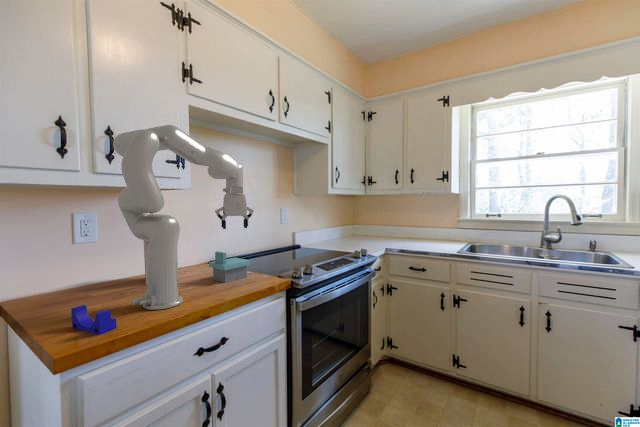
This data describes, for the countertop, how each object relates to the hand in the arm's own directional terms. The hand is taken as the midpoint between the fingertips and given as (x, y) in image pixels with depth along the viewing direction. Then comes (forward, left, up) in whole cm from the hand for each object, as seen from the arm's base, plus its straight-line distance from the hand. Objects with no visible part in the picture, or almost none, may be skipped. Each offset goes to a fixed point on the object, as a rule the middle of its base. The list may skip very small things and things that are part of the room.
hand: (235, 228), depth 134 cm
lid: (-1, +3, -18) cm, 18 cm away
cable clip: (-57, -10, -24) cm, 63 cm away
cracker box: (-24, +28, -24) cm, 44 cm away
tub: (-1, +3, -24) cm, 24 cm away
